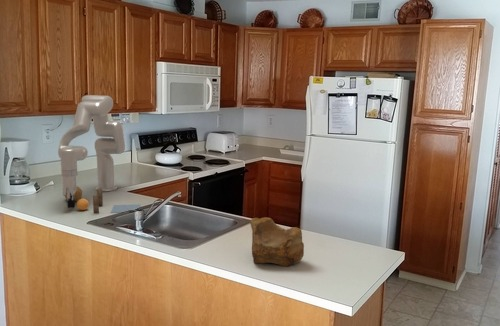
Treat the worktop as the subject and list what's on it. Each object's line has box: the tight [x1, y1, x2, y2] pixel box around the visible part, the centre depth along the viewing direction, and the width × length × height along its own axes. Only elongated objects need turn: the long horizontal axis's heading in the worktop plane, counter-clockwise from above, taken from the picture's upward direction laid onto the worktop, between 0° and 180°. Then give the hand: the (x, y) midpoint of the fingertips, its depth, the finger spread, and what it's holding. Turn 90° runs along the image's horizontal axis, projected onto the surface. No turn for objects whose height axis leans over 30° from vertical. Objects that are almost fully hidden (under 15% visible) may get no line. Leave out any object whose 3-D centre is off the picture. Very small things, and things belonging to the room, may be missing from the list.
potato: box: [64, 185, 83, 202], centre depth 258 cm, size 10×14×8 cm
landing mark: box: [110, 203, 141, 214], centre depth 245 cm, size 14×14×1 cm
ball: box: [75, 198, 90, 211], centre depth 241 cm, size 6×6×6 cm
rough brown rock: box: [249, 216, 305, 267], centre depth 178 cm, size 23×17×15 cm
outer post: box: [92, 194, 100, 215], centre depth 236 cm, size 3×3×9 cm
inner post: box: [96, 189, 104, 208], centre depth 248 cm, size 3×3×9 cm
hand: (71, 207), depth 241 cm, fingers closed
